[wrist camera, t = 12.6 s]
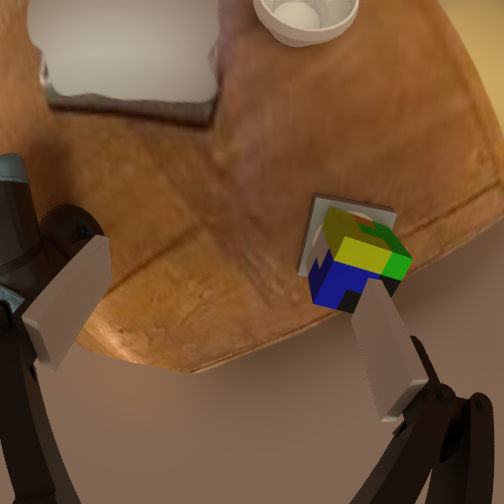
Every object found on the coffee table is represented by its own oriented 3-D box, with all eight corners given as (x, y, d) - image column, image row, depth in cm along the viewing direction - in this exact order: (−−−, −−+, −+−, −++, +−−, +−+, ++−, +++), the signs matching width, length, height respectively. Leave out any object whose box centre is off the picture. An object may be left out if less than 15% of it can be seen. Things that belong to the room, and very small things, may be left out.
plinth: (297, 268, 51) (298, 275, 49) (314, 193, 45) (316, 198, 43) (369, 278, 51) (372, 285, 49) (392, 208, 45) (397, 214, 43)
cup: (249, -3, 31) (239, -46, 18) (324, -12, 30) (349, -55, 17) (265, 62, 36) (264, 44, 23) (341, 53, 35) (376, 34, 22)
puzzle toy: (305, 264, 48) (312, 303, 39) (330, 206, 43) (344, 236, 34) (361, 280, 49) (377, 319, 40) (388, 226, 44) (413, 259, 35)
